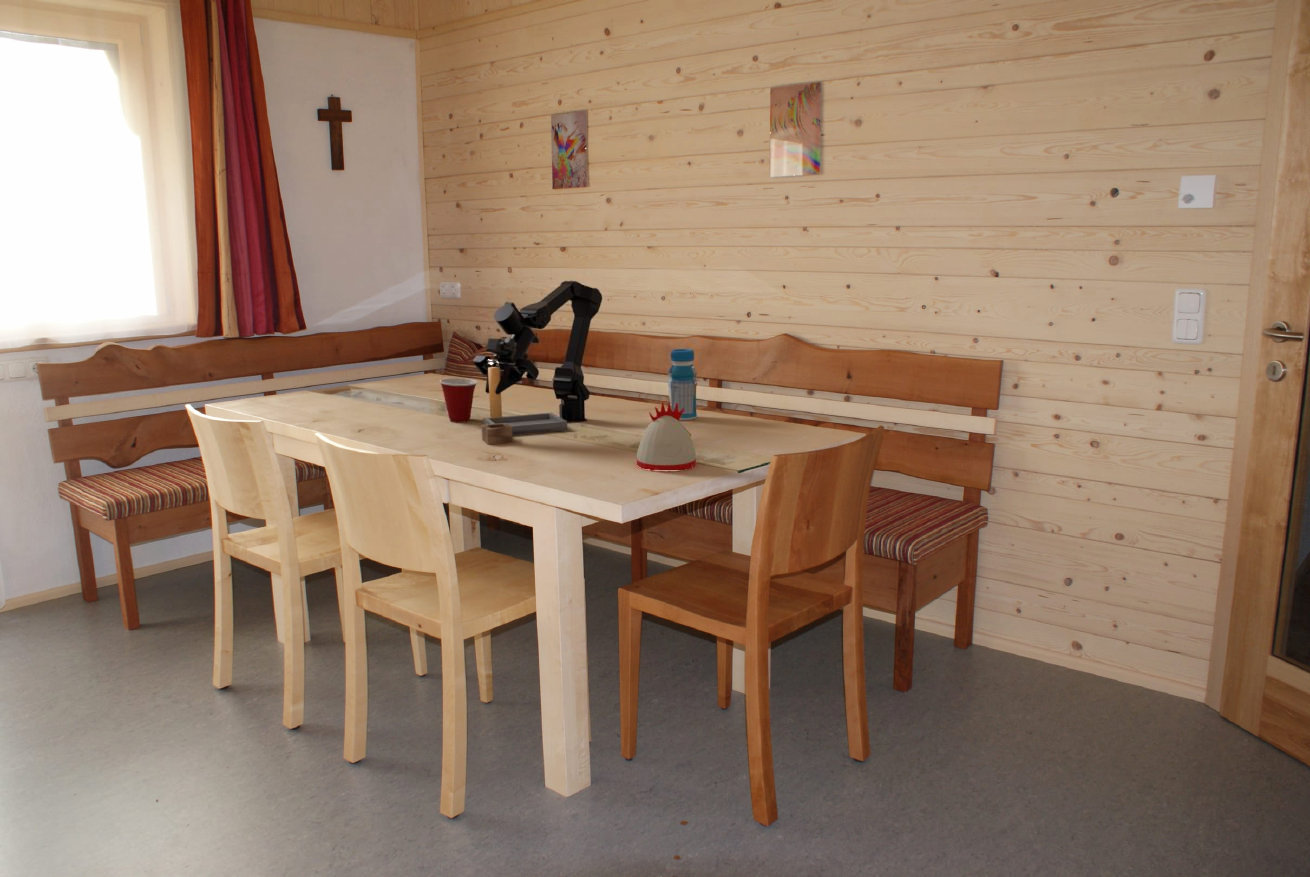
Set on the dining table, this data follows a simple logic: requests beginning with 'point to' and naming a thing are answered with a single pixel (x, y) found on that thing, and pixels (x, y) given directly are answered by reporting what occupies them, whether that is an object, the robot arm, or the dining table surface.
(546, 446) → the dining table surface
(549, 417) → the charcoal tray
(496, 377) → the tan dowel pin
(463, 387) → the plastic cup
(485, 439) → the walnut socket block
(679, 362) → the beverage bottle
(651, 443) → the chicken hat
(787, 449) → the dining table surface
